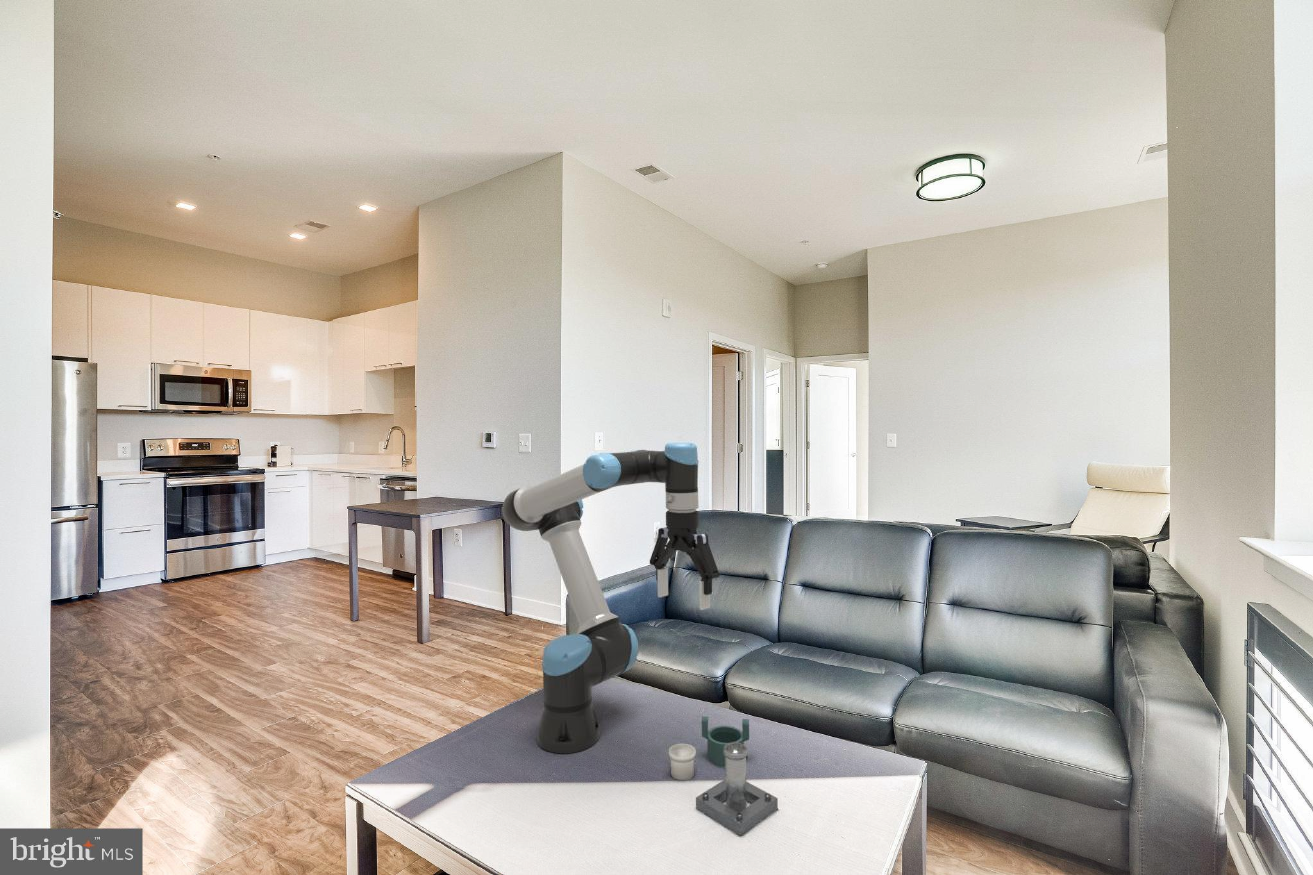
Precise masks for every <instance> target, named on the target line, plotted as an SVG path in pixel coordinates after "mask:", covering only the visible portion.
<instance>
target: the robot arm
mask: <svg viewBox="0 0 1313 875" xmlns="http://www.w3.org/2000/svg"><path fill="white" fill-rule="evenodd" d="M698 475H699V457H698V446H697V445H696V443H693V442H668V443H666V444H665V445H664V450H662V451H660V450H647V449H635V450H631V451H626V452H625V451H624V452H601V453H598V454H593V455H592V454H591V455H590V456H588V457H587V459H586V460H585V462H584V463H583V464H581V465H579V466H576V467H574V468H572V469H570V470H567V471H565V472H563V473H560V474H559V475H557V476H554V477H552V478H549V479H547V480H545V481H543V482H540V483H539V484H537V485H534V486H531V485H525V486H522V487H520V488H517V489H515V490H513V491H511V492H510V493H508V494H507V496H506V497H505V499H504V501H503V504H502V516H503V518H504V520H505V521H506V523H507V525H508V526H510V527H512V528H513V529H514V530H517V531H522V532H530V531H537V530H538V532H539V534H540V537H541V538H540V539H541V540H543V541H545V542H548V543H549V545H550V548H551V550H552V554H553V556H554V559H555V561H556V565H557V568H558V570H559V573H560V575H561V579H562V581H563V584H564V587H565V589H566V591H567V594H568V596H569V600H570V603H571V605H572V608H573V610H574V611H573V612H574V614H575V615H576V619H577V621H578V622H577V623H578V624H579V627H578V630H577V633H571V634H569V635H568V634H564V635H561V636H559V637H556V638H554V639H552V640H551V641H550V642H548V643H547V644H546V646H545V647H544V649H543V653H542V664H541V669H542V677H543V678H542V679H543V680H542V685H543V691H542V692H543V709H542V712H541V716H540V719H539V723H538V726H537V729H536V741H537V742H536V743H537V745H538V747H540V748H541V749H542V750H545V751H547V752H549V753H554V754H555V753H556V754H570V753H571V754H572V753H577V752H581V751H584V750H587V749H589V748H590V747H592V746H594V745H595V744H596V743H597V742H598V741H599V739H600V736H601V726H600V722H599V719H598V717H597V713H596V711H595V708H594V705H593V687H595V686H597V685H599V684H601V683H603V682H606V681H608V680H610V679H613V678H614V677H618V676H620V675H622V674H624V673H625V672H627V671H629V670H630V669H632V667H633V666H634V665H635V664H636V661H637V660H638V659H637V657H638V655H639V643H638V638H637V635H636V633H635V631H634V630H633V628H631V627H630V626H629V625H627V624H623V623H621V621H620V618H619V615H616V614H614V613H612V612H611V611H610V608H609V605H608V603H607V600H606V598H605V595H604V592H603V590H602V588H601V585H600V583H599V579H598V577H597V575H596V572H595V570H594V567H593V564H592V561H591V558H590V557H589V554H588V551H587V549H586V546H585V544H584V541H583V539H582V536H581V534H580V528H581V526H582V520H581V519H582V517H583V515H584V510H583V508H584V503H583V502H584V501H583V500H584V499H587V498H589V497H591V496H594V495H596V494H599V493H601V492H604V491H607V490H610V489H612V488H616V487H620V486H621V487H622V486H628V485H637V484H644V483H659V484H664V487H665V488H664V489H665V508H666V510H667V511H666V512H665V527H659V528H658V529H657V530H658V532H657V538H656V541H655V545H654V547H653V549H652V552H651V556H650V559H649V564H650V565H651V566H654V568H655V575H656V577H655V578H656V582H657V598H663V597H667V596H669V568H668V567H667V564H668V563H669V561H670V559H671V558H672V556H673V555H674V554H675V552H677V551H680V552H683V553H686V555H687V556H688V557H690V559H691V561H692V563H693V565H694V566H695V568H696V570H697V572H698V574H699V576H700V577H701V579H699V580H698V586H699V587H698V588H699V589H698V590H699V591H698V592H699V593H698V594H699V595H698V596H699V599H698V600H699V610H701V611H703V610H707V609H710V608H711V595H712V593H713V579H716V578H720V571H719V569H718V566H717V563H716V560H715V559H714V558H715V557H714V554H713V552H712V550H711V546H710V544H709V535H708V534H707V533H703V534H702V533H701V534H698V532H697V529H698V527H699V526H700V523H699V522H700V520H699V517H700V516H699V510H697V509H699V507H700V506H699V487H698V485H699V484H698V479H699V476H698Z"/></svg>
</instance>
